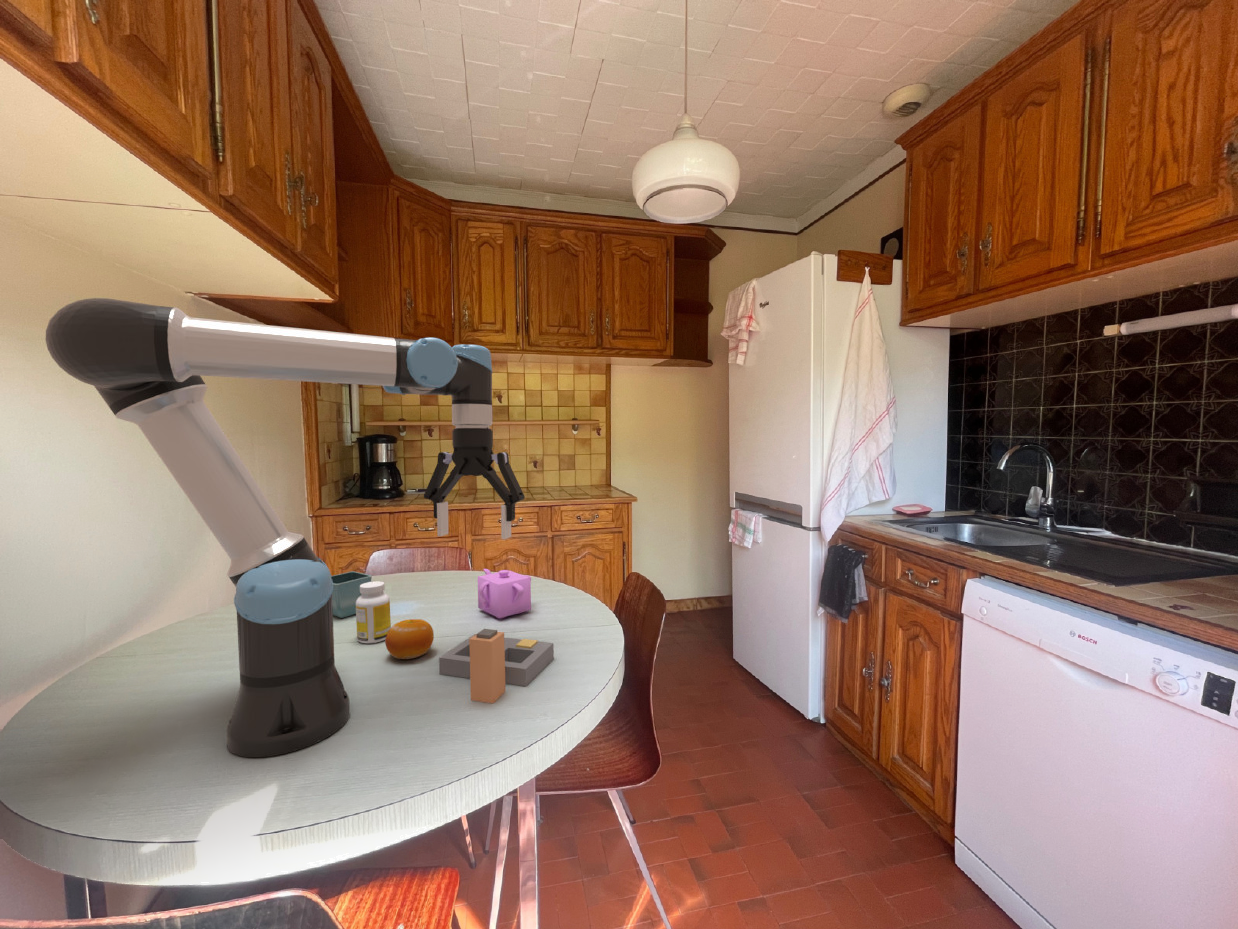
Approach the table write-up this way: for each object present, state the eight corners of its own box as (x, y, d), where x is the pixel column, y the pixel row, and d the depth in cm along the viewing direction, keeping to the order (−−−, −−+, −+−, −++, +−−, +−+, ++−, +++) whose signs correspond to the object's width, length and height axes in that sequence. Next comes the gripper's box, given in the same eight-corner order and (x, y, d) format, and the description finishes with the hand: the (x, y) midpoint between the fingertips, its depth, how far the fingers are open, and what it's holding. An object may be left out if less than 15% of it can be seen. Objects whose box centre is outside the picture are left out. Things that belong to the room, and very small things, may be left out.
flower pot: (318, 615, 124) (316, 578, 124) (354, 605, 132) (353, 570, 131) (337, 623, 119) (335, 584, 119) (373, 612, 126) (372, 575, 126)
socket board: (526, 686, 88) (525, 666, 88) (439, 674, 93) (439, 655, 93) (553, 658, 99) (553, 640, 99) (475, 648, 104) (474, 632, 104)
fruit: (442, 626, 107) (420, 600, 103) (439, 657, 99) (415, 630, 95) (406, 645, 107) (382, 620, 103) (399, 677, 99) (373, 651, 95)
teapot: (461, 608, 128) (460, 568, 128) (510, 596, 138) (510, 558, 137) (498, 628, 115) (497, 583, 115) (550, 613, 125) (549, 571, 124)
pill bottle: (397, 633, 113) (395, 580, 112) (380, 645, 106) (378, 589, 106) (368, 632, 113) (366, 579, 113) (350, 644, 107) (348, 588, 106)
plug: (492, 703, 83) (491, 637, 82) (470, 700, 84) (469, 635, 83) (505, 691, 86) (504, 628, 86) (484, 688, 88) (482, 626, 87)
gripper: (540, 427, 101) (541, 535, 102) (426, 428, 107) (428, 530, 108) (524, 426, 94) (526, 543, 95) (403, 427, 100) (406, 537, 101)
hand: (474, 536), depth 102 cm, fingers open, 13 cm apart
